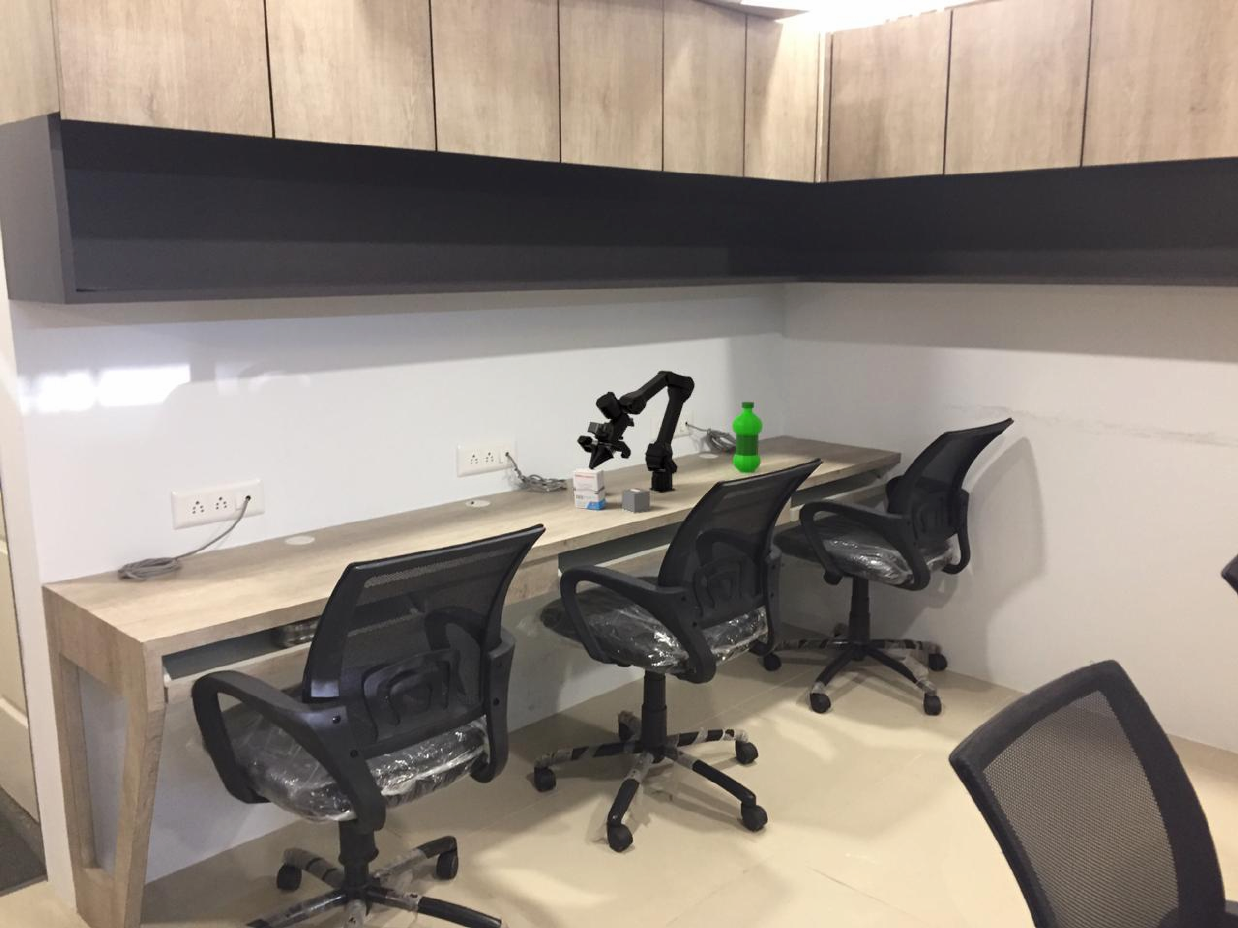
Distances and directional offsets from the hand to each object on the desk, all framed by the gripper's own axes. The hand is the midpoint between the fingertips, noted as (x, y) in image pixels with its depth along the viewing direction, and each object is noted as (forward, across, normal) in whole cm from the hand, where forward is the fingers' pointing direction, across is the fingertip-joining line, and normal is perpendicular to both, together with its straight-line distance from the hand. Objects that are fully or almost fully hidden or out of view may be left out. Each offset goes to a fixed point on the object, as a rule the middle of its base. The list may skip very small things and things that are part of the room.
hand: (590, 468), depth 300 cm
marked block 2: (+3, +12, +14) cm, 19 cm away
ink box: (+8, 0, +9) cm, 12 cm away
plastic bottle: (-47, +2, +63) cm, 79 cm away
